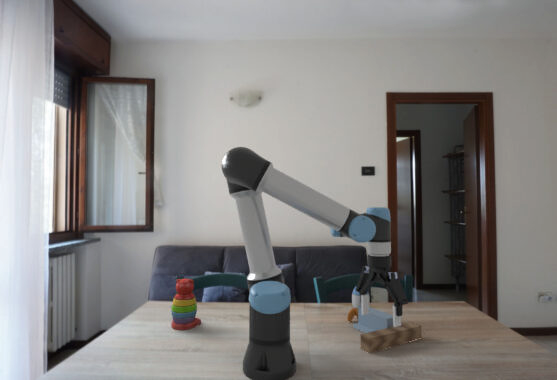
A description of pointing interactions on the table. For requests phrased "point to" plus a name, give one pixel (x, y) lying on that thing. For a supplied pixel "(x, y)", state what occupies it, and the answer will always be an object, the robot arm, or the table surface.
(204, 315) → the table surface
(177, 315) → the stacking bear
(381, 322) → the slate ridge
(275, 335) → the robot arm
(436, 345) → the table surface
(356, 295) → the toy rocket
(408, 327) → the walnut bar
